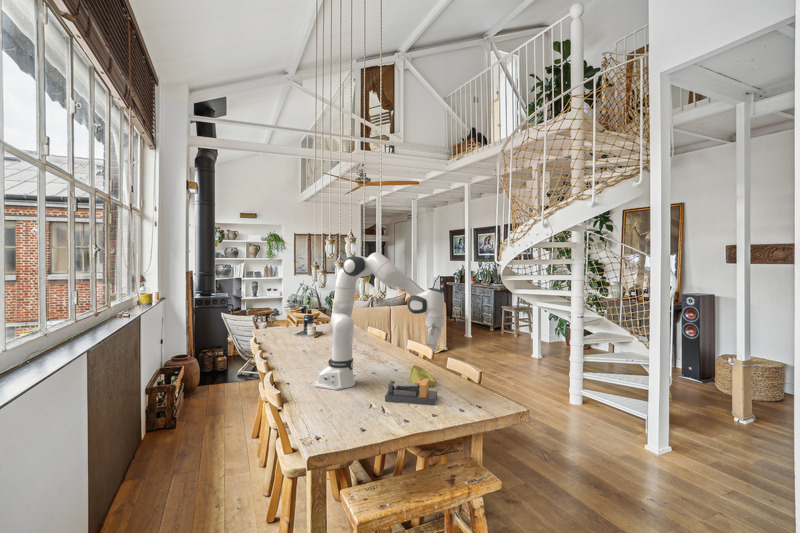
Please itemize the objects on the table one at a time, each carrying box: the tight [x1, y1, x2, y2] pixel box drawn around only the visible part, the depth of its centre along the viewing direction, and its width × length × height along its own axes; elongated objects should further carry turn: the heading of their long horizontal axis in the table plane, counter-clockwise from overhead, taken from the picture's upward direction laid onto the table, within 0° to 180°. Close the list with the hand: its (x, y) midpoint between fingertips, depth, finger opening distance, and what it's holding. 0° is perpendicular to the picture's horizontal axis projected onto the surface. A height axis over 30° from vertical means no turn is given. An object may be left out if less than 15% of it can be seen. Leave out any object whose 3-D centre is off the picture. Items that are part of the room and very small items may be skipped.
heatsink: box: [384, 380, 438, 406], centre depth 192 cm, size 24×11×8 cm, turn 78°
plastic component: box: [409, 364, 436, 388], centre depth 218 cm, size 20×7×10 cm
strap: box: [391, 382, 418, 387], centre depth 193 cm, size 14×2×1 cm, turn 78°
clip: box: [415, 379, 430, 398], centre depth 191 cm, size 6×10×6 cm, turn 168°
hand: (433, 350), depth 189 cm, fingers closed
